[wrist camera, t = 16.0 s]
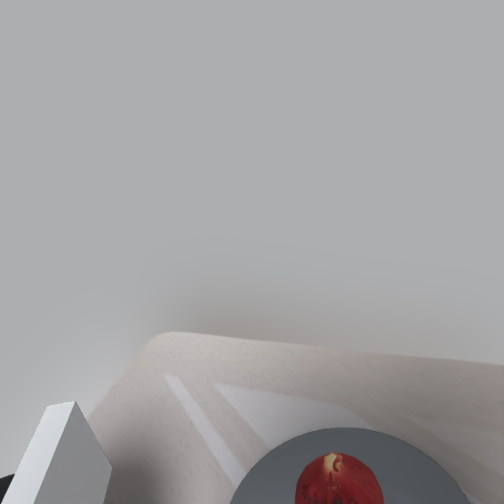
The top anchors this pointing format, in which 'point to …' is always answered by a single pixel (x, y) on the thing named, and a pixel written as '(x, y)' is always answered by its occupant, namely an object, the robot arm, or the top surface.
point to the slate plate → (364, 449)
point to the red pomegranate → (338, 482)
